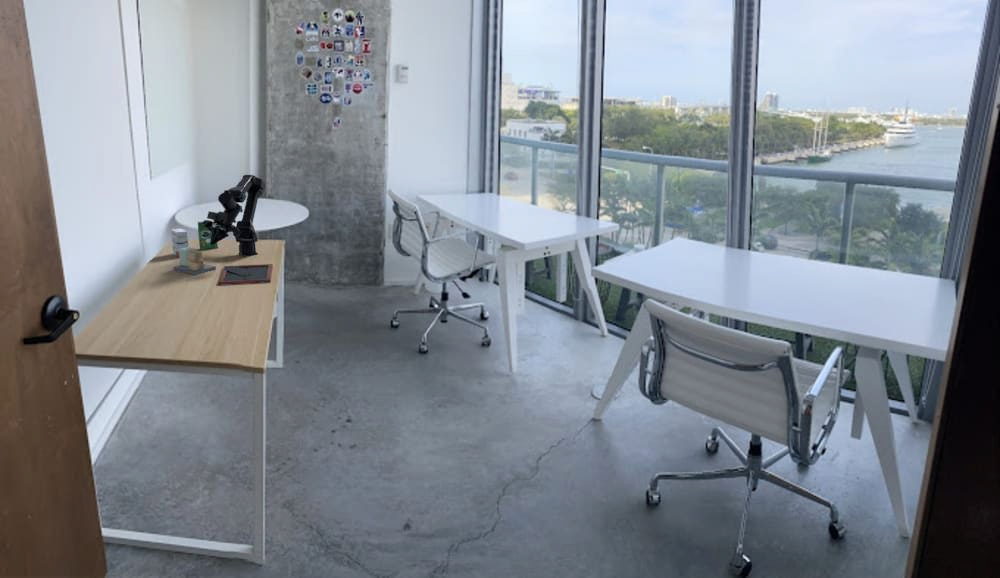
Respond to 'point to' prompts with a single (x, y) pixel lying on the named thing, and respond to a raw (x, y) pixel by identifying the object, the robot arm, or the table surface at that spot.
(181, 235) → the ink box
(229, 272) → the picture frame
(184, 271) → the key base
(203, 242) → the coffee box
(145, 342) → the table surface
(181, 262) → the two-stud toy brick
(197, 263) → the wooden button block
